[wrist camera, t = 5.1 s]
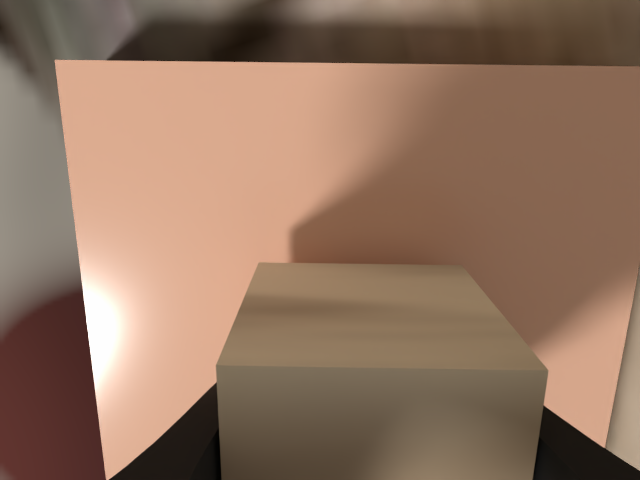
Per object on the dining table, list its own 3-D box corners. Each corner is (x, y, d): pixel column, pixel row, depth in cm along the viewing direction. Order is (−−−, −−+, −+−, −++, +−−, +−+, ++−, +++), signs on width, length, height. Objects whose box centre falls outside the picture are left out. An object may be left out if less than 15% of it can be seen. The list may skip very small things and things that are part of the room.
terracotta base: (549, 501, 18) (583, 562, 16) (142, 494, 19) (115, 553, 16) (618, 72, 14) (677, 66, 12) (99, 66, 15) (54, 59, 12)
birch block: (445, 439, 14) (510, 623, 9) (262, 436, 14) (228, 617, 9) (461, 265, 12) (548, 370, 8) (258, 262, 12) (215, 365, 8)
